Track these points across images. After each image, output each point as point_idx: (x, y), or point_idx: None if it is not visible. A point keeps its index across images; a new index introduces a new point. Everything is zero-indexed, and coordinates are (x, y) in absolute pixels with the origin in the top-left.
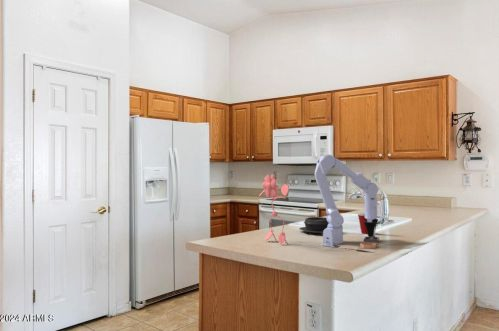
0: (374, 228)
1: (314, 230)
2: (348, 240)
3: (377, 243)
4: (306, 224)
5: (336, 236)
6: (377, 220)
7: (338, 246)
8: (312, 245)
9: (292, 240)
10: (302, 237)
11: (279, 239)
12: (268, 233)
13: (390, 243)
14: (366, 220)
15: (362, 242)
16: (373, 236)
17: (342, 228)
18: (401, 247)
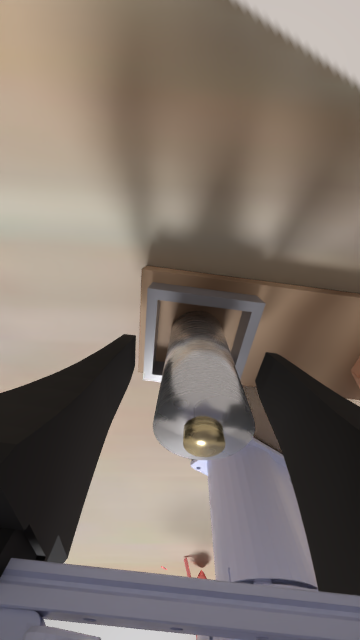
0: (234, 386)
1: None
2: (114, 420)
3: (285, 301)
4: None
5: (297, 516)
6: (21, 453)
7: (281, 454)
8: None
9: (169, 537)
10: (109, 523)
11: None
12: None
13: (136, 188)
14: (68, 554)
15: (248, 383)
16: (227, 344)
17: (284, 565)
18: (314, 78)
